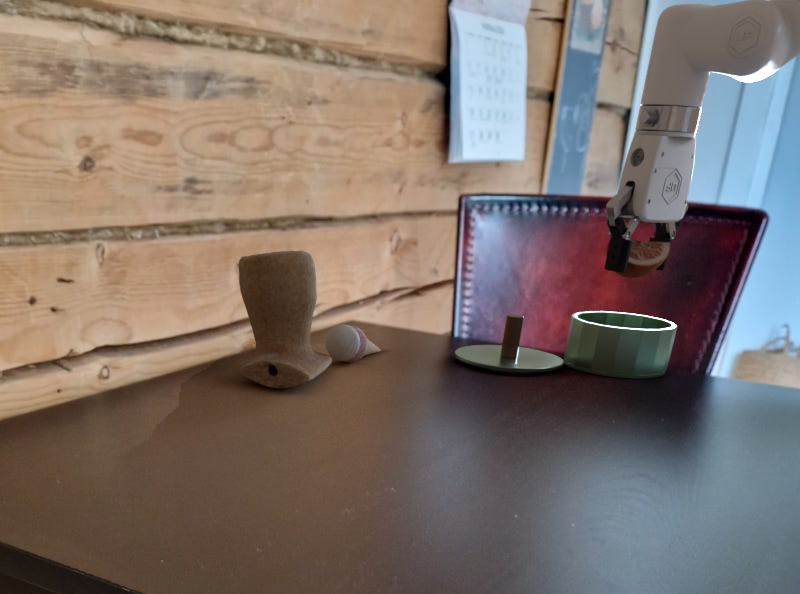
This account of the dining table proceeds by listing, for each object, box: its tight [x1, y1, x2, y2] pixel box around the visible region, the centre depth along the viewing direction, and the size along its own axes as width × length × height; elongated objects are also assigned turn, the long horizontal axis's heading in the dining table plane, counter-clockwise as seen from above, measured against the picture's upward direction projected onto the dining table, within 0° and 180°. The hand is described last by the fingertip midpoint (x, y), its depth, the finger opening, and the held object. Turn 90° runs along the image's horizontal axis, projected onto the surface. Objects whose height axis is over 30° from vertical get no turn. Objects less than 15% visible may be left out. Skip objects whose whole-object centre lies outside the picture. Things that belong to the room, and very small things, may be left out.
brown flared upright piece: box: [237, 250, 333, 389], centre depth 106 cm, size 15×12×15 cm
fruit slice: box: [605, 238, 671, 279], centre depth 118 cm, size 8×7×5 cm
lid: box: [454, 313, 564, 375], centre depth 122 cm, size 15×15×7 cm
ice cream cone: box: [324, 324, 383, 363], centre depth 121 cm, size 5×5×15 cm
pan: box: [563, 310, 678, 380], centre depth 124 cm, size 14×14×6 cm
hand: (634, 269), depth 119 cm, fingers closed on fruit slice, 8 cm apart
